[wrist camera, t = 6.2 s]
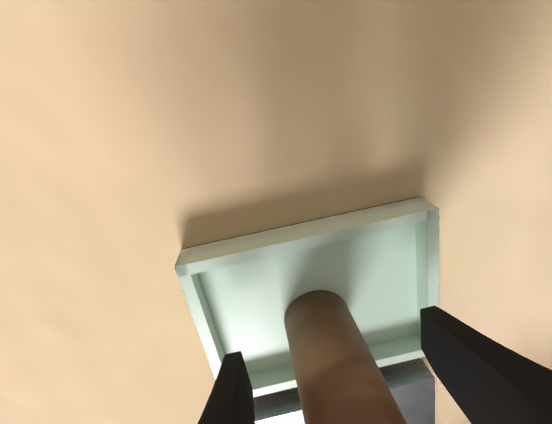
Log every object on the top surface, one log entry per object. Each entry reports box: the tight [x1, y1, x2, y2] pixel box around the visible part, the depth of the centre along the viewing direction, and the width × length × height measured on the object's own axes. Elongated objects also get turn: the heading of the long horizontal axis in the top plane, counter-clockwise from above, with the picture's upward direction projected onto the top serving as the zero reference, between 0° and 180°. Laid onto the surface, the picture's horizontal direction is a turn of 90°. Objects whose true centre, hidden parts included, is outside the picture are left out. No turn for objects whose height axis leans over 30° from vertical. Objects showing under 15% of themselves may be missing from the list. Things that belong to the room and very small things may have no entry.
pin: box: [284, 290, 407, 424], centre depth 11 cm, size 4×4×9 cm
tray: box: [175, 197, 439, 397], centre depth 15 cm, size 11×8×2 cm
